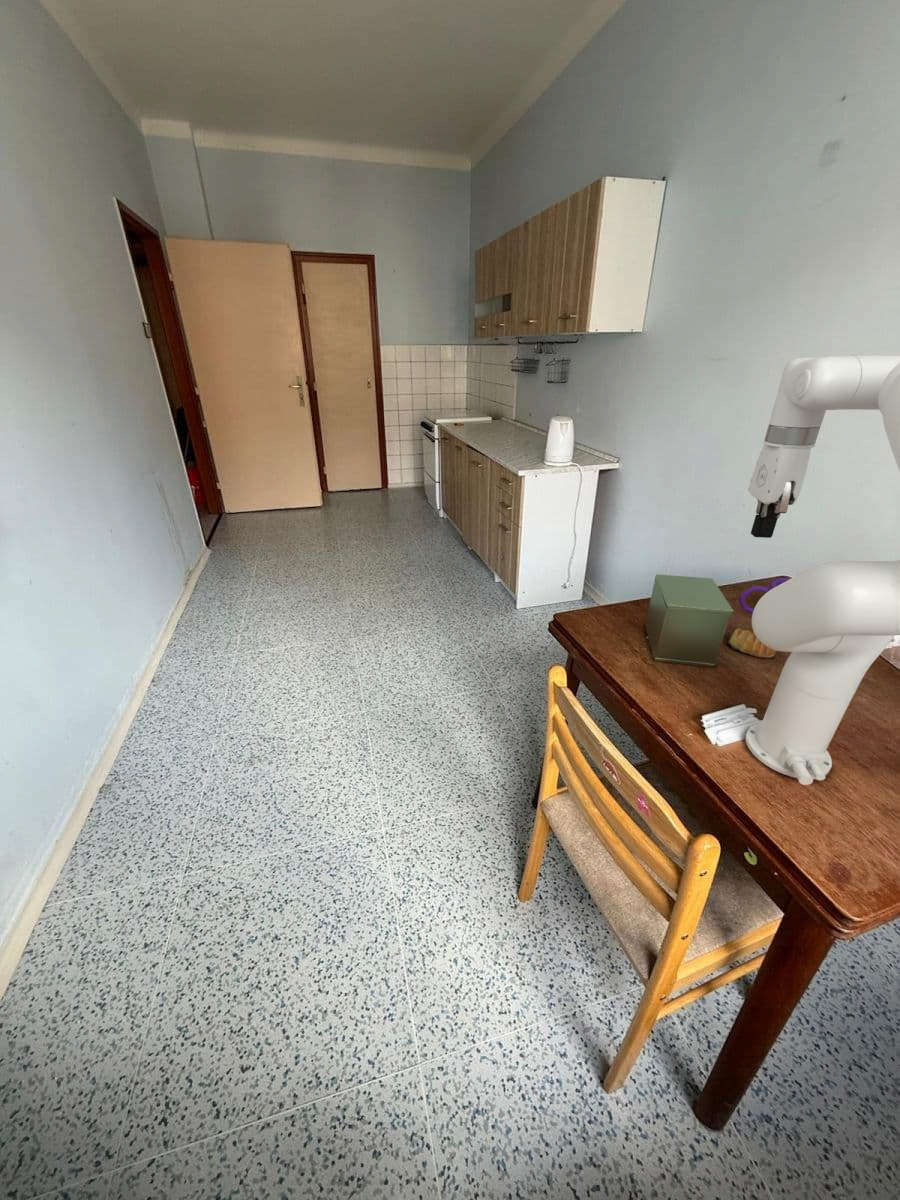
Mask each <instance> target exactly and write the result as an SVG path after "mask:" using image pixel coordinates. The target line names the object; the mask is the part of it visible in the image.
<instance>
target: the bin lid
mask: <svg viewBox="0 0 900 1200" xmlns="http://www.w3.org/2000/svg"><path fill="white" fill-rule="evenodd" d="M655 578H656V580H657V582H658V585H659V587H660V590H661V593H662V595H663V598H664V600H665V603H666V605H667V608H670V609H682V610H694V611H705V612H717V613H728V614H730V615H733V613H734V609H733V608H732V606H731V605H730V603H729V601H728V600H727V599H726V597H725V596H724V594H723V592H722V591H721V590H720V588H719V586H718V585H717V583H716V581H715V580H714V579H713V578H712V577H710V578H709V577H698V576H697V577H696V576H683V575H670V574H658V573H657V574H655Z"/></svg>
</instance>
